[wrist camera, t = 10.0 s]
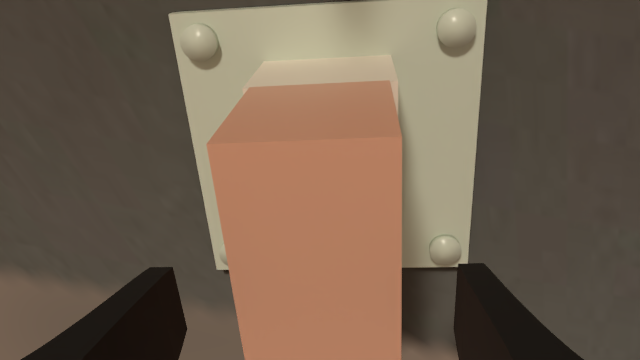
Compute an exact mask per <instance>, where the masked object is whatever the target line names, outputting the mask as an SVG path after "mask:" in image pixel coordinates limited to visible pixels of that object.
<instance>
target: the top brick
mask: <svg viewBox="0 0 640 360" xmlns="http://www.w3.org/2000/svg"><path fill="white" fill-rule="evenodd" d="M206 145H207V151H208V156H209V162H210V168H211V173H212V179H213V184H214V190H215V195H216V201H217V207H218V212H219V218H220V223H221V229H222V234H223V240H224V246H225V251H226V257H227V262H228V268H229V273H230V279H231V285H232V290H233V296H234V301H235V307H236V312H237V318H238V324H239V329H240V335H241V340H242V346H243V351H244V357H245V360H401V324H402V134H401V129H400V125H399V120H398V116H397V111H396V107H395V102H394V98H393V93H392V88H391V84H390V80H384V81H364V82H344V83H324V84H303V85H283V86H263V87H249V88H248V90H247V91H246V92H245V94H244V95H243V96H242V98H241V99H240V100H239V101H238V103H237V104H236V105H235V107H234V108H233V109H232V111H231V112H230V113H229V115H228V116H227V117H226V119H225V120H224V121H223V123H222V124H221V125H220V127H219V128H218V129H217V131H216V132H215V133H214V135H213V136H212V137H211V139H210V140H209V141H208V143H207V144H206Z"/></svg>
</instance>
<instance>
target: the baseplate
mask: <svg viewBox="0 0 640 360" xmlns="http://www.w3.org/2000/svg"><path fill="white" fill-rule="evenodd" d="M486 10H487V0H360V1H344V2H328V3H312V4H296V5H280V6H264V7H248V8H232V9H216V10H200V11H184V12H173V13H170V14H168V15H169V20H170V25H171V30H172V36H173V41H174V46H175V51H176V57H177V62H178V67H179V73H180V78H181V83H182V88H183V94H184V99H185V104H186V109H187V115H188V120H189V125H190V131H191V136H192V141H193V146H194V152H195V157H196V162H197V167H198V173H199V178H200V183H201V188H202V194H203V199H204V204H205V210H206V215H207V220H208V225H209V231H210V236H211V241H212V246H213V252H214V257H215V262H216V268H217V270H229V268H228V262H227V257H226V251H225V246H224V240H223V234H222V229H221V223H220V218H219V212H218V207H217V201H216V195H215V190H214V184H213V179H212V173H211V168H210V162H209V156H208V151H207V145H206V144H207V143H208V141H209V140H210V139H211V137H212V136H213V135H214V133H215V132H216V131H217V129H218V128H219V127H220V125H221V124H222V123H223V121H224V120H225V119H226V117H227V116H228V115H229V113H230V112H231V111H232V109H233V108H234V107H235V105H236V104H237V103H238V101H239V100H240V99H241V98H242V96H243V89H242V88H243V87H244V86H245V84H246V83H247V82H248V81H249V79H250V78H251V77H252V76H253V74H254V73H255V72H256V71H257V69H258V68H259V67H260V66H261V64H262V63H263V62H264V61H281V60H300V59H320V58H339V57H358V56H377V55H391V57H392V61H393V64H394V68H395V71H396V75H397V78H398V120H399V125H400V129H401V134H402V268H409V267H458V264H468V251H469V237H470V224H471V210H472V197H473V184H474V170H475V157H476V144H477V130H478V117H479V104H480V90H481V77H482V64H483V50H484V37H485V23H486Z"/></svg>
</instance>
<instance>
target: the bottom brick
mask: <svg viewBox="0 0 640 360" xmlns="http://www.w3.org/2000/svg"><path fill="white" fill-rule="evenodd" d="M384 80H390V84H391V88H392V93H393V98H394V102H395V107H396V111H397V116H398V78H397V75H396V71H395V68H394V64H393V61H392V57H391V55H377V56H358V57H339V58H320V59H300V60H281V61H264V62H263V63H262V64H261V66H260V67H259V68H258V69H257V71H256V72H255V73H254V74H253V76H252V77H251V78H250V79H249V81H248V82H247V83H246V84H245V86H244V87H243V88H242V89H243V95H244V94H245V92H246V91H247V90H248V88H249V87H263V86H283V85H303V84H324V83H344V82H364V81H384Z"/></svg>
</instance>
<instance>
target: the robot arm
mask: <svg viewBox="0 0 640 360" xmlns="http://www.w3.org/2000/svg"><path fill="white" fill-rule="evenodd" d="M186 331H187V326H186V322H185V317H184V313H183V309H182V305H181V300H180V296H179V292H178V288H177V284H176V279H175V275H174V271H173V267H150V268H149V269H147V270H146V271H144V272H143V273H141V274H140V275H138V276H137V277H136V278H134V279H133V280H132V281H130V282H129V283H128V284H127V285H125V286H124V287H123V288H121V289H120V290H119V291H118V292H116V293H115V294H114V295H112V296H111V297H110V298H108V299H107V300H106V301H104V302H103V303H102V304H101V305H99V306H98V307H97V308H95V309H94V310H93V311H91V312H90V313H89V314H87V315H86V316H85V317H83V318H82V319H80V320H79V321H78V322H76V323H75V324H74V325H72V326H71V327H69V328H68V329H66V330H65V331H64V332H62V333H61V334H59V335H58V336H57V337H55V338H54V339H52V340H51V341H49V342H48V343H46V344H45V345H43V346H42V347H40V348H39V349H37V350H35V351H34V352H32V353H31V354H29V355H28V356H26V357H24V358H23V359H21V360H178V359H179V356H180V352H181V349H182V346H183V342H184V338H185V335H186ZM454 333H455V339H456V345H457V351H458V357H459V360H584V359H582V358H581V357H580V356H578V355H577V354H576V353H575V352H573V351H572V350H571V349H570V348H569V347H567V346H566V345H565V344H564V343H563V342H562V341H561V340H559V339H558V338H557V337H556V336H555V335H554V334H553V333H551V332H550V331H549V330H548V329H547V328H546V327H545V326H544V325H543V324H542V323H541V322H540V321H539V320H538V319H537V318H536V317H535V316H534V315H533V314H532V313H531V312H529V311H528V310H527V309H526V308H525V307H524V306H523V305H522V304H521V303H520V301H519V300H518V299H517V298H516V297H515V296H514V295H513V294H512V293H511V292H510V291H509V290H508V289H507V288H506V287H505V286H504V285H503V283H502V282H501V281H500V280H499V279H498V278H497V277H496V276H495V275H494V274H493V273H492V271H491V270H490V269H489V268H488V267H487V266H486V265H485V264H484V263H474V264H458V271H457V286H456V302H455V317H454Z"/></svg>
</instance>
